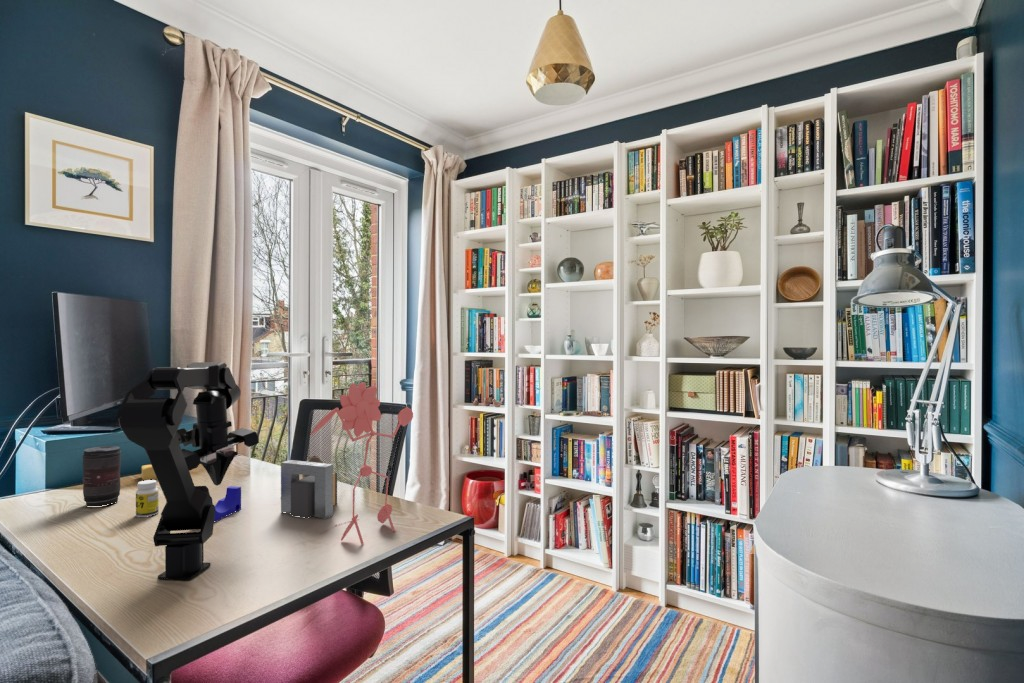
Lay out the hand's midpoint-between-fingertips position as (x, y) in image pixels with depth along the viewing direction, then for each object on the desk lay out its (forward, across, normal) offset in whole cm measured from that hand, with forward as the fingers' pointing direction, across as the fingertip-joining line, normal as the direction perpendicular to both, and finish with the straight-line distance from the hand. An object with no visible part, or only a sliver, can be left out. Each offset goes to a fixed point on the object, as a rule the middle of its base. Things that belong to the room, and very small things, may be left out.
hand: (217, 484), depth 117 cm
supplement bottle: (+16, -1, -29) cm, 33 cm away
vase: (+20, -38, -10) cm, 44 cm away
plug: (+15, -22, +6) cm, 27 cm away
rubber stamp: (+23, -24, -61) cm, 70 cm away
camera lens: (+18, 0, -48) cm, 51 cm away
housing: (+14, -18, +7) cm, 25 cm away
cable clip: (+15, -8, -12) cm, 21 cm away
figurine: (+12, -15, +27) cm, 33 cm away
